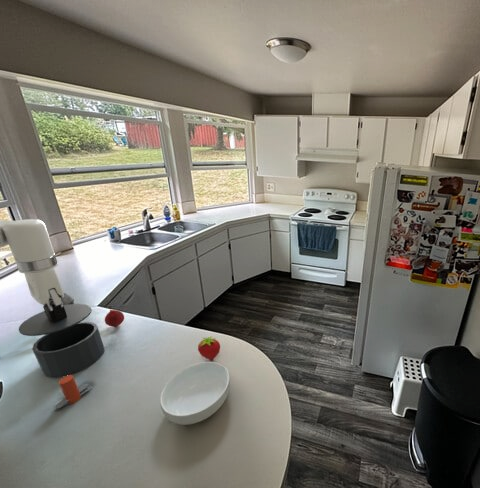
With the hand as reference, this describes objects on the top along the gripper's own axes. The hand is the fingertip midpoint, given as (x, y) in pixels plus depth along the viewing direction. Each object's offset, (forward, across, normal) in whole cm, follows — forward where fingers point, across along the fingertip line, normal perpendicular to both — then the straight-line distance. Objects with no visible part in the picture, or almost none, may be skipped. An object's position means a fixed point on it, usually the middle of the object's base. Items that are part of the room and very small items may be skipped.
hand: (57, 316), depth 77 cm
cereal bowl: (+17, +49, +12) cm, 53 cm away
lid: (+1, 0, 0) cm, 1 cm away
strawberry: (+16, +38, +24) cm, 48 cm away
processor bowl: (+17, 0, +1) cm, 17 cm away
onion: (+17, -8, +16) cm, 24 cm away
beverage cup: (+17, -21, +6) cm, 28 cm away
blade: (+17, +18, -5) cm, 26 cm away
